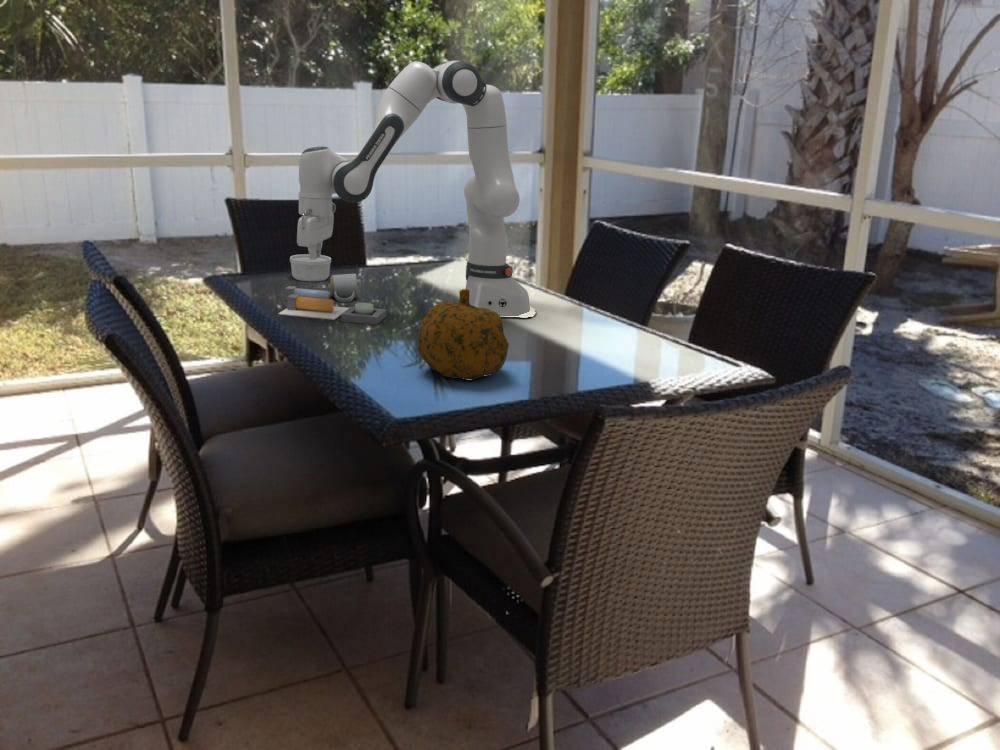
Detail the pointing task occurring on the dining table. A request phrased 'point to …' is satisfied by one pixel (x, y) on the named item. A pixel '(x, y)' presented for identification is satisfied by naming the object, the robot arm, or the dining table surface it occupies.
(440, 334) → the decorative pumpkin
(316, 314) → the paper
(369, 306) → the button
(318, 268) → the ramekin
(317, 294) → the marker blue
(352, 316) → the button base
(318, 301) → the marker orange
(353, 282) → the ceramic mug
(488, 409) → the dining table surface
